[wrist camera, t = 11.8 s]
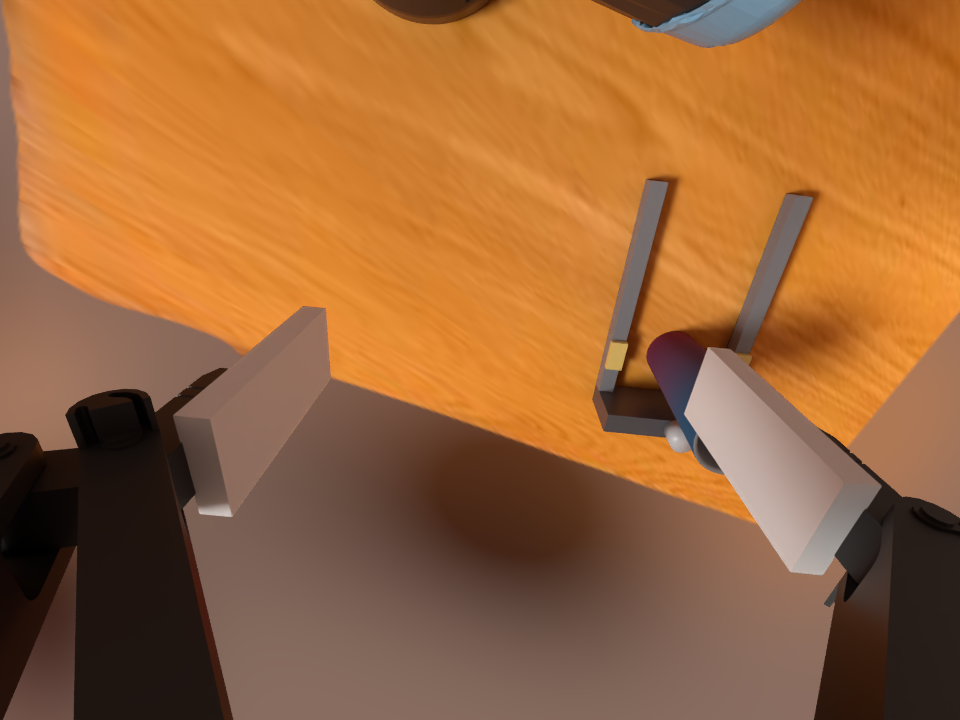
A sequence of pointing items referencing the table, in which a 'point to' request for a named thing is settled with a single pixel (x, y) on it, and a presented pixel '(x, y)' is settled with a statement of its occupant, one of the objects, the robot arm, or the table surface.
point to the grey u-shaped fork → (626, 404)
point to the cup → (680, 383)
